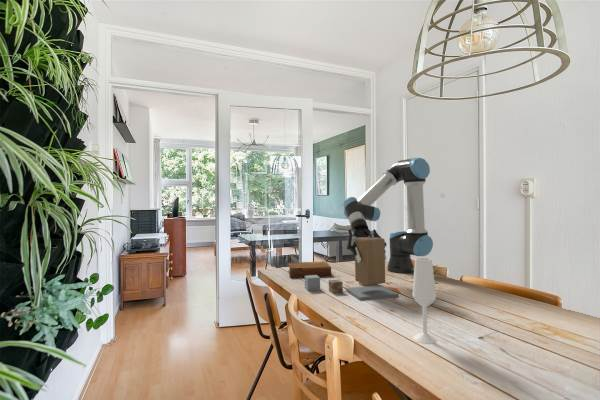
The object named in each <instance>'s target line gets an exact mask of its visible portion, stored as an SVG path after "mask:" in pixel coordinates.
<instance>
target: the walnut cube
mask: <svg viewBox="0 0 600 400" xmlns="http://www.w3.org/2000/svg"><path fill="white" fill-rule="evenodd" d="M343 288H344V287H343V281H342V280H340V279H329V280H328V291H329V292H330V293H331V294H342V293H343Z"/></svg>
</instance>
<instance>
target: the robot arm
mask: <svg viewBox="0 0 600 400" xmlns="http://www.w3.org/2000/svg"><path fill="white" fill-rule="evenodd" d="M430 172H431V168H430V164H429V162H427V160H426V159H425V158H422V157H412V158H407V159H402V160H398V161H397V162H394V163H393V164H392V165H391V166H390V167H388V168H387V169H386V170H385V171H384V172H383V173H382V176H381V177H380V178H379V179H378V180H377V181H376V182H375V183H374V184H373V185H371V187H370V188H368V190H366V191H365V192H364V193H363V194H362V195H361V196H360V197H359V198H358V199H357V198H356V197H354V196H350V197H347V198H346V199H344V201H343V207H344V211H343V214H344V216H345V218H346V219H348V222H349V224H350V227H351V230H350V229H348V231H347V237H348V238H347V244H346V245H347V246H346V250H348V251H349V250H350V252H351V253H352V256H354V257H355V256H356V259H357V262H358V263H360V261H361V257H360V255H359V252H358V249H357V247H355V246H356V244H355V240H354V242H353V244H352V239H353V236H354V237H355V238H358V237H378V238H382V237H381V235H380V234H378V232H377V230H376V229H375V228H374V229H373V230H370V229H369V226H368V223H367V221H369V222H377V221H378V220H379V219H380V217H381V209H379V208H378V207H376V206H373V204H374V203H376V202H377V200H379V198H380V197H381V196H383V195H384V194H385V193H386V192H387V191H388V190H389V189H390V188H391V187H392V186H395V185H396V184H398V183H400V182H402V181H403V184H404V185H405V186H406V200H407V223H408V224H407V225H408V229H406V230H405V231H393V232H390V233H389V240H388V241H389V260H388V263H387V266H386V268H387V269H386V270H387V271H389V272H390V273H391V272H392V273H397V274H398V273H401V274H402V273H403V274H405V273H406V274H407V273H412V272H413V273H414V271H413V270H414V267H415V266H414V264H413V261H412V257H411V256H415V257H426V256H428V255H430V253H431V252H432V250H433V247H434V242H433V239H432V237H431V236H430V235H429V233H428V232H429V231H428V230H427V229H426V228H425V226H426V225H425V207H424V206H425V205H424V184H426V179H427V178H428V177H429V176H430ZM387 245H388V244H387V242H386V241H385V248H386V247H387ZM386 260H387V255H386V250H385V261H386ZM413 266H414V267H413Z"/></svg>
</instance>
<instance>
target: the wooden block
mask: <svg viewBox="0 0 600 400" xmlns="http://www.w3.org/2000/svg"><path fill="white" fill-rule="evenodd" d="M354 241H355V244H356V246H355V247H357V249H358V252H359V255H360V257H361V261H360V263H358V262H357V259H356V256H354V267H355V268H354V269H355V270H354V271H355V272H354V273H355V274H354V276H355V278H354V279H355V282H357V283H359V282H360V283H363V284H366V285H371V286H376V285H382V284H385V283H386V260H385V255H386V253H385V251H386V247H385V242H386V241H385V238H383V237H381V238H378V237H358V238H356V237H355V238H354Z"/></svg>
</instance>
